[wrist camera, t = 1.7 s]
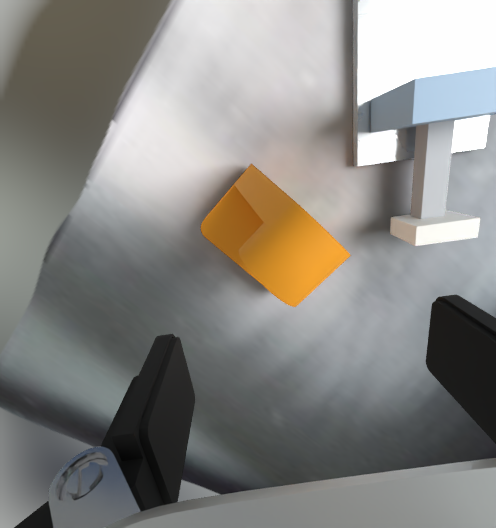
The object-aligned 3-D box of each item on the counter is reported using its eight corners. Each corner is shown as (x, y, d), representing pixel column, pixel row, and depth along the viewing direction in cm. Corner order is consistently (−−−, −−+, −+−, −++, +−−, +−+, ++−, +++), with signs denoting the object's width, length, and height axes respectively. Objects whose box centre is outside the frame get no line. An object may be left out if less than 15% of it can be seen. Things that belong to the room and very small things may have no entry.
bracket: (199, 223, 27) (171, 268, 16) (250, 163, 25) (259, 165, 14) (279, 290, 30) (304, 369, 18) (330, 240, 28) (392, 295, 17)
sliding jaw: (484, 82, 22) (566, 55, 17) (465, 223, 26) (526, 240, 21) (371, 99, 22) (415, 78, 17) (369, 236, 26) (404, 257, 21)
